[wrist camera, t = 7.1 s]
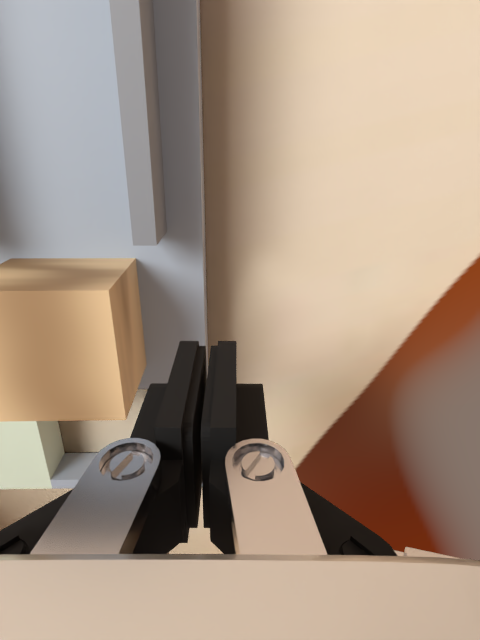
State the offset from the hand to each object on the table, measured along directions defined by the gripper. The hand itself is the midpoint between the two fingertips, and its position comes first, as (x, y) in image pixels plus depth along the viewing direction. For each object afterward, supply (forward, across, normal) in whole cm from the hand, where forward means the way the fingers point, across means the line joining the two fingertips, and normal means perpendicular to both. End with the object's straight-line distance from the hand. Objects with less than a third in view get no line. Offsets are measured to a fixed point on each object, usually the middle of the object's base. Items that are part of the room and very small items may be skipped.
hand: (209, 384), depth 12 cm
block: (+6, +6, 0) cm, 8 cm away
